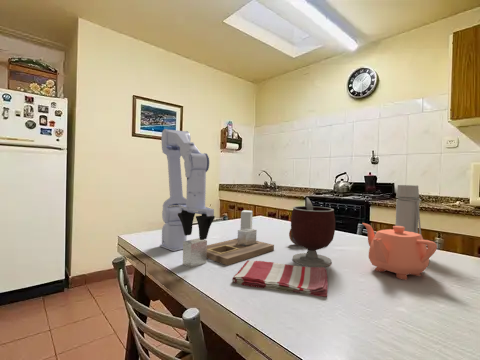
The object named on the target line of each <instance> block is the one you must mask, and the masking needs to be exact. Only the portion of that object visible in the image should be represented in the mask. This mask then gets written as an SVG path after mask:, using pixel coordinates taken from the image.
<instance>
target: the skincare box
mask: <svg viewBox="0 0 480 360" xmlns="http://www.w3.org/2000/svg"><path fill="white" fill-rule="evenodd" d="M253 215H254V214H253V210H247V209H244V210H242V211H241V212H240V230H242V229H248V228H249V229H253Z"/></svg>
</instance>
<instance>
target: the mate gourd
mask: <svg viewBox="0 0 480 360" xmlns="http://www.w3.org/2000/svg"><path fill="white" fill-rule="evenodd" d="M305 201H306V204H305V205H304V206H303V205H301V206H300V205H299V206H293V207H292V211H291V212H292V213H291V217H290V229H291V231H292V236H293V238H294V240H295V241H296V243H297V244H298V245H300V247H303V248H304V249H306V250H307V251H306V252H305V253H304V252H301V253H297V254H293V255H292V261H293V262H294V263H296V264H298V265H301V266H303V267H325V268H326V267H329V266H330V265H332V262H333V261H332V259H331V258H329V256H326V255H321V254H318V252H317V250H321V249H325V248H327V247H328V246H330V244H331V243H332V241H334V240H333V239H334V237H335V232H336V216H335V212H334V211H335V209H334V208H331V207H326V206H325V207H324V206H314V205H313V203H312V201H311V200H310V198H309V197H305ZM298 245H297V246H298Z"/></svg>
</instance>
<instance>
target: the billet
mask: <svg viewBox="0 0 480 360" xmlns="http://www.w3.org/2000/svg"><path fill="white" fill-rule="evenodd" d="M207 245H208V240H207V239H204V240H200V238H194V239H189V240H186V241H183V249H182V265H184V266H186V267H188V268H193V267H194V268H195V267H197V266H201V265H204V264H207V259H208V258H207Z"/></svg>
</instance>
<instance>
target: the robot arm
mask: <svg viewBox="0 0 480 360" xmlns="http://www.w3.org/2000/svg"><path fill="white" fill-rule="evenodd" d="M191 138H192V137H191V134H190V132H189V131H187V130H175V129H167V128H164V129H163V130H162V132H161V139H160V140H161V141H160V142H161V150H162V151H161V152H162V153H163V154H165V156H166V159H167V169H168V171H167V172H168V186H169V187H168V188H169V198H166V200H165V201H164V202H163V204H162V212H161V217H162V220H163V223H164V224H163V226H162V228H161V244H159V247H161V248H164V249H167V250H170V251H172V252H174V251H175V252H177V251H180V250H183V241H188V240H187V238H188V237H187V236H192V233H193V232H192V231H193V222H194V219H196V221H197V227H198V236H199V238H200V240H207V239H208V236H209V235H208V234H209V232H210V228H211V226H212V223H213V222H214V220H215V217H216V216H215V209H214V208H210V207H208V206H206V194H207V193H206V192H207V191H206V189H207V187H206V185H207V184H206V183H207V182H206V181H207V172H208V171H209V168H210V157H209V155H208V153H205V152H204V153H202V152H201V151H200V150H199V148H198V147H197V146H196V144H195V142H194V141H193V142H192V141H191ZM181 157H182V159H183V161H184V162H183V167H184V173H185V177H186V197H184V195H183V193H184V192H183V180H182V169H181V167H182V165H181Z"/></svg>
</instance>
